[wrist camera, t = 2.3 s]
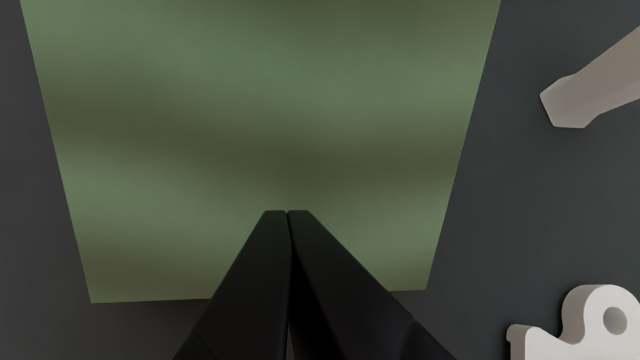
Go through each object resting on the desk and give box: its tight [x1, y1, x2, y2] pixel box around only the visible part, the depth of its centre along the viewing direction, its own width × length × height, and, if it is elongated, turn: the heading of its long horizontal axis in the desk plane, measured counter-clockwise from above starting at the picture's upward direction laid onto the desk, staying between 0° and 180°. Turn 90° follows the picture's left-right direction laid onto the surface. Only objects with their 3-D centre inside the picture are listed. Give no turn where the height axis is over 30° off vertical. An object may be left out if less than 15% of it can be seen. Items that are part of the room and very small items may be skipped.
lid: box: [20, 0, 501, 303], centre depth 14 cm, size 12×13×1 cm
